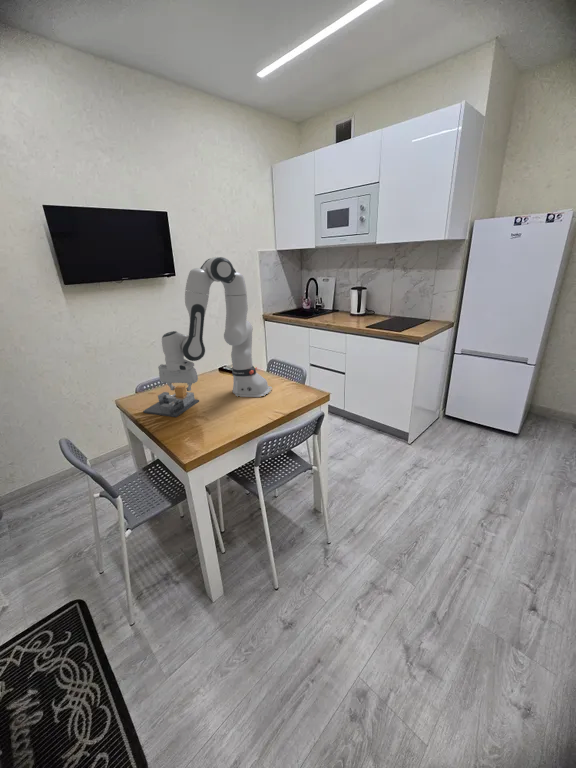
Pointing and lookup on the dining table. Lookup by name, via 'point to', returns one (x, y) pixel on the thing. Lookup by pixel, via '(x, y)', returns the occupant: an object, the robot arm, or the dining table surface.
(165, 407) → the coupling frame
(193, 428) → the dining table surface
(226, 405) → the dining table surface
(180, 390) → the orange brown rectangular block
